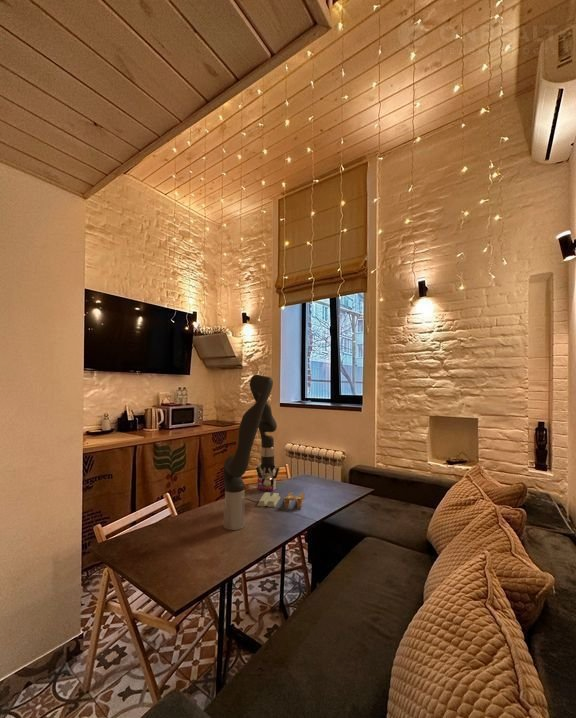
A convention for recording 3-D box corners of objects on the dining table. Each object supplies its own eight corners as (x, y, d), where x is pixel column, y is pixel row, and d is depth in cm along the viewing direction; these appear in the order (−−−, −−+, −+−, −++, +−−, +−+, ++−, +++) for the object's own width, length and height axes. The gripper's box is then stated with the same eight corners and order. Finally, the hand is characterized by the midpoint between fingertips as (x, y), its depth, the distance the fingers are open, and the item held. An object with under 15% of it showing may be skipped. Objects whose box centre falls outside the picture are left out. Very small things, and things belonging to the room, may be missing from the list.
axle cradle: (257, 506, 184) (257, 500, 185) (263, 497, 198) (263, 492, 198) (275, 507, 183) (275, 501, 183) (280, 498, 196) (280, 493, 197)
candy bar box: (276, 488, 214) (275, 463, 215) (273, 491, 209) (273, 465, 210) (260, 487, 217) (260, 462, 218) (257, 489, 212) (257, 464, 214)
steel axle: (270, 487, 184) (270, 480, 184) (263, 487, 184) (263, 479, 185) (275, 480, 197) (275, 473, 198) (269, 480, 198) (269, 473, 198)
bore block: (284, 508, 181) (284, 497, 181) (289, 498, 196) (289, 488, 197) (300, 509, 179) (300, 498, 179) (304, 499, 195) (304, 489, 195)
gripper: (281, 453, 190) (281, 484, 189) (257, 453, 193) (257, 482, 192) (278, 456, 183) (278, 488, 182) (253, 455, 186) (254, 487, 184)
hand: (267, 485), depth 187 cm, fingers closed on steel axle, 4 cm apart
